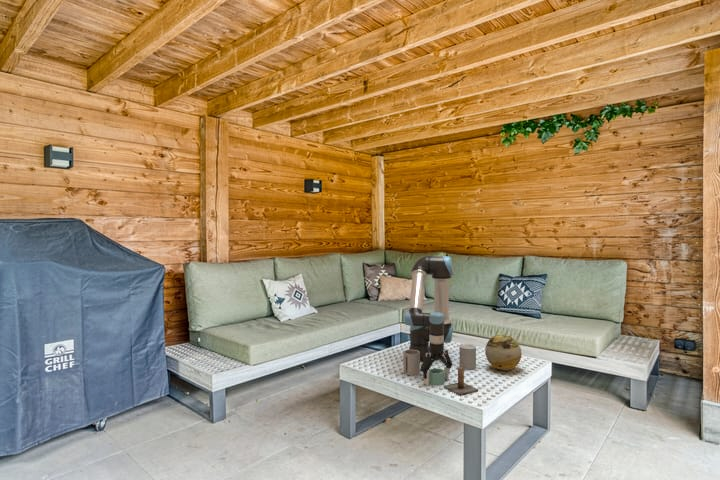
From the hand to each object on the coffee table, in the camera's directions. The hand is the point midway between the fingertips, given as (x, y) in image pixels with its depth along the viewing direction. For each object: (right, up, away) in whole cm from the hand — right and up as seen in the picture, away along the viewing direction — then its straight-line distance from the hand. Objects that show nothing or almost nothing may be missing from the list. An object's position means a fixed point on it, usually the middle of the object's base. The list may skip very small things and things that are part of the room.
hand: (436, 382), depth 220 cm
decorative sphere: (+42, 0, +19) cm, 46 cm away
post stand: (+10, 0, -10) cm, 15 cm away
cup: (-11, 0, +14) cm, 18 cm away
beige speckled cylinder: (+23, 0, +23) cm, 33 cm away
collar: (0, 0, 0) cm, 0 cm away
